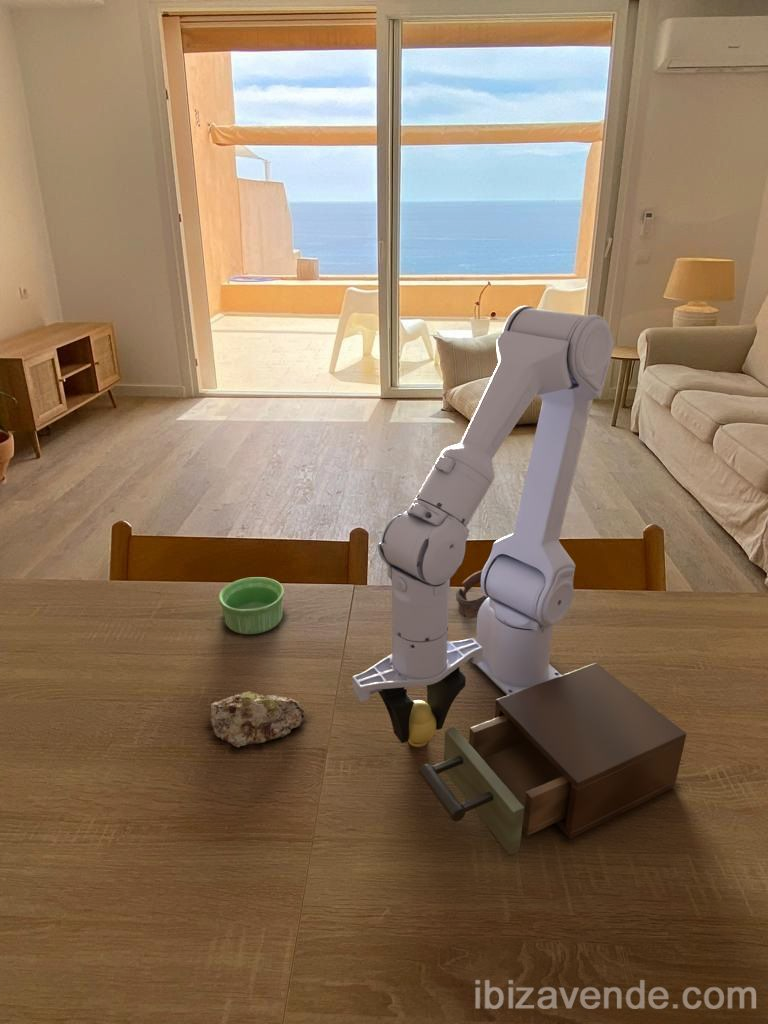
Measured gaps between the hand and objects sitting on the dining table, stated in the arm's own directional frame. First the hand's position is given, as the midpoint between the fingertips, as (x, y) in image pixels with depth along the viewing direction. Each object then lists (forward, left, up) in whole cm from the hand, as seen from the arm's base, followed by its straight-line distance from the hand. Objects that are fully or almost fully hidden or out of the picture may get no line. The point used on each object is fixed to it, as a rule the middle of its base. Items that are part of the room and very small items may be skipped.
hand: (418, 729), depth 76 cm
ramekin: (-31, -9, -2) cm, 33 cm away
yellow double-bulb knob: (0, 0, -1) cm, 1 cm away
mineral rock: (-10, -15, -2) cm, 18 cm away
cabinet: (+12, +13, -1) cm, 17 cm away
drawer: (+12, +4, 0) cm, 12 cm away
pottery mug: (-16, +22, -2) cm, 28 cm away
